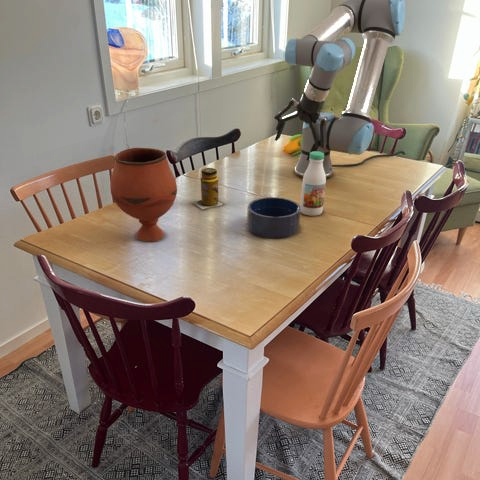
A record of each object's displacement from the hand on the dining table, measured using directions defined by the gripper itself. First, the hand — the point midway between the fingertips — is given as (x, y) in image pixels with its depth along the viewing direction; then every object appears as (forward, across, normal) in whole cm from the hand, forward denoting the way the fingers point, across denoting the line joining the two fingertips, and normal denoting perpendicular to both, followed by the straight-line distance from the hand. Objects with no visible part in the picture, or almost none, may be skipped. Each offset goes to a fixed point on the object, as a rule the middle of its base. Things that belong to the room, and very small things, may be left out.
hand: (293, 148), depth 171 cm
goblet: (+10, -17, -60) cm, 63 cm away
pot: (+3, +13, -35) cm, 37 cm away
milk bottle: (+5, +19, -17) cm, 26 cm away
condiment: (+16, -14, -30) cm, 37 cm away
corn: (+32, -9, +40) cm, 52 cm away
